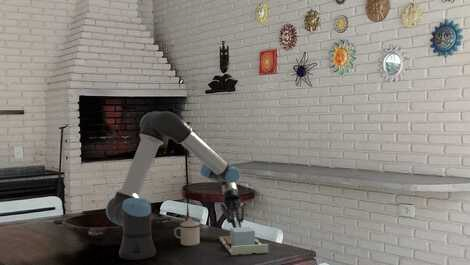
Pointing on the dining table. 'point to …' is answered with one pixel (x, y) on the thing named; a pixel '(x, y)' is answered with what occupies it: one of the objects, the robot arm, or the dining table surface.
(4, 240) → the dining table surface
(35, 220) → the dining table surface
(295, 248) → the dining table surface
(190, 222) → the teacup with lid
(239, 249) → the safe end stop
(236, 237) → the slate block
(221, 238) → the tray
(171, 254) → the dining table surface
